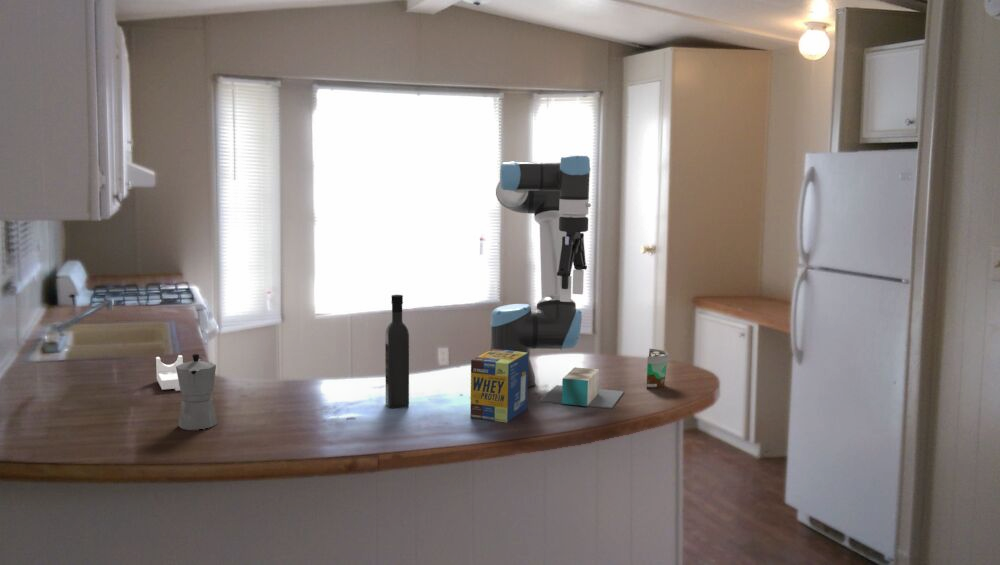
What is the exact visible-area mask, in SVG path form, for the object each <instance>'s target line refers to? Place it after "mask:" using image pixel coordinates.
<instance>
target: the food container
mask: <svg viewBox="0 0 1000 565" xmlns="http://www.w3.org/2000/svg"><path fill="white" fill-rule="evenodd" d="M648 351H649V352H648V356H647V360H646V361H647V364H646V366H647V368H646V371H647V372H646V390H661V389H663V388H665V383H666V374H667V368H668V366H667V365H668V362H670V356H669V354H668V351H665V350H663V349H658V348H649V350H648Z"/></svg>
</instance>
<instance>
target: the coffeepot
mask: <svg viewBox="0 0 1000 565" xmlns="http://www.w3.org/2000/svg"><path fill="white" fill-rule="evenodd" d="M191 356H192V361H189V362H188V361H187V362H183V364H181V365H178V366H176V370H177V375H178V380H179V386H180V390H179V391H180V393H181V394H182V400H181V402H180V410H179V418H178V423H177V425H178V427H179V428H180V429H182V430H184V431H200V430H199V429H203V430H206V429H205V428H208V429H211V428H213V427H212V426H214V425H215V426H216V425H217V424H218V419H217V418H218V417H217V415H216V408H215V404H214V399H213V398H212V392H214V387H215V386H214V384H215V376H216V370H217V369H216V368H217V364H215V363H213V362H211V361H205V360H204V361H203V359H202V357H200V354H198V353H193V354H192V355H191ZM215 426H214V427H215ZM210 427H211V428H210Z"/></svg>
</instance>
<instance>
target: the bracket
mask: <svg viewBox="0 0 1000 565" xmlns="http://www.w3.org/2000/svg"><path fill="white" fill-rule="evenodd" d="M183 358H184V357H183V355H181V354H180V355H177V359H176V361H174V362H173V363H171V364H165V363H164V362H162V361H161V359H162V358H160V356H156V357H155V362H156V364H155V365H156V367H155V370H156V380H157V382H158V384H159V387H160V388H161V391H163V390H172V389H173V390H174V391H175V392H177V391H180V386H179V380H178V375H177V370H176V366H178V365H181V364H183V363H184V362H183V360H184V359H183Z"/></svg>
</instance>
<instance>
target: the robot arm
mask: <svg viewBox="0 0 1000 565" xmlns="http://www.w3.org/2000/svg"><path fill="white" fill-rule="evenodd" d="M590 161H591V160H590V157H589V156H588V155H562V156H561V158H560V162H532V161H531V162H528V161H527V162H524V161H523V162H522V161H508V162H507V161H505V162H502V163H501V164H500V169H499V173H500V174H499V181H498V183H497V185H496V188H495V196H496V199H497V201H498V202H499V203H500V205H502V206H503V207H504V208H506V209H508V210H511V211H512V212H515V213H518V214H519V213H520V214H534V216H533V218H534V221H535V222H536V223H538V226H539V248H540V250H539V252H540V253H539V255H540V257H539V258H540V283H541V284H540V287H541V288H540V290H541V292H540V293H541V298H540V300H539V301H538V302H537V303H536V309H532V307H531V304H528V303H512V304H506V305H502V306H497V307H496V308H495V309H493V311H491V316H490V317H491V318H490V324H489V326H490V350H491V349H501V350H510V351H518V352H527V353H528V385H527V389H528V388H531V387H533V386H535V384H536V374H535V371H534V368H533V365H532V362H531V358H530V355H531V354H530V353H531V351H530V350H531V349H533V350H534V349H535V350H538V349H539V350H541V349H543V350H544V349H545V350H558V349H559V350H564V349H573V348H575V347H576V346H577V345H578V343H579V339H580V334H581V330H582V329H581V328H582V319H583V317H582V310H581V309H578V308H576V304H577V303H576V302H575V301H574V300H573V299H572V295H584V272H585V271H584V270H587V268H588V266H587V263H586V253H585V240H584V239H585V238H584V237H585V232H588V231H589V218H588V216H587V215H589V208H591V207H592V204H591V203H590V202H589V201H590V200H589V199H590V196H589V195H590V177H591V176H590V175H591V164H590ZM573 268H574V269H573ZM572 269H573V270H572ZM571 272H572V274H571Z"/></svg>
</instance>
